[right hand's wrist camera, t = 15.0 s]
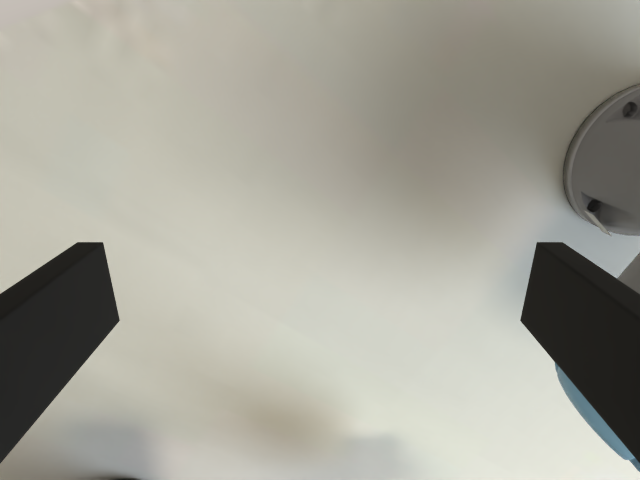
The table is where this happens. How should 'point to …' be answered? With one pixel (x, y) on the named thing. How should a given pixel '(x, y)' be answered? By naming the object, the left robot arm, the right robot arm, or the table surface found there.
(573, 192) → the right robot arm
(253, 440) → the table surface
